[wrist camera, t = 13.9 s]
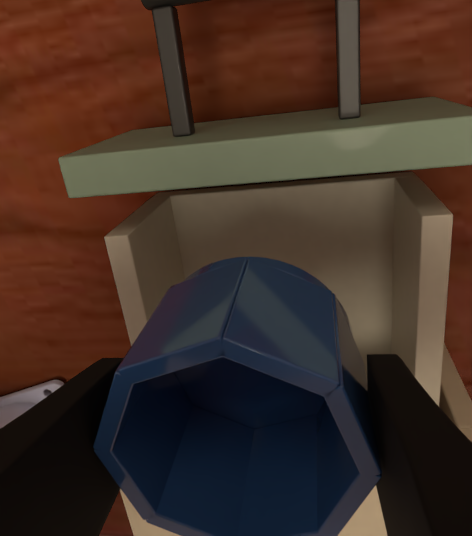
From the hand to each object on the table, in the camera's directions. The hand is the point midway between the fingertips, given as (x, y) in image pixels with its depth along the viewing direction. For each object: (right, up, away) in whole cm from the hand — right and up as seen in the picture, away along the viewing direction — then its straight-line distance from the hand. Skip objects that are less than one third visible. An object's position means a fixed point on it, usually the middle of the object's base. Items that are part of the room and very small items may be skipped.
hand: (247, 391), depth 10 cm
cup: (0, +1, +2) cm, 2 cm away
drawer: (+2, +5, +8) cm, 10 cm away
